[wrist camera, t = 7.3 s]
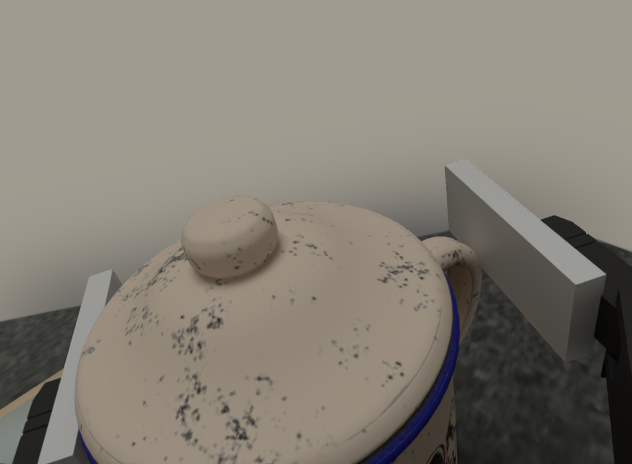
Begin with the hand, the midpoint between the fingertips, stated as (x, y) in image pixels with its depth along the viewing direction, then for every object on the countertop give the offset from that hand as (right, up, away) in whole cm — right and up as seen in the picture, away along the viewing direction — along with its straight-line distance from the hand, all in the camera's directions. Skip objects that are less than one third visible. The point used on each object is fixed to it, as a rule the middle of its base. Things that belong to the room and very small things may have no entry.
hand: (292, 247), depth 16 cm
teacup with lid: (+3, -8, +1) cm, 8 cm away
